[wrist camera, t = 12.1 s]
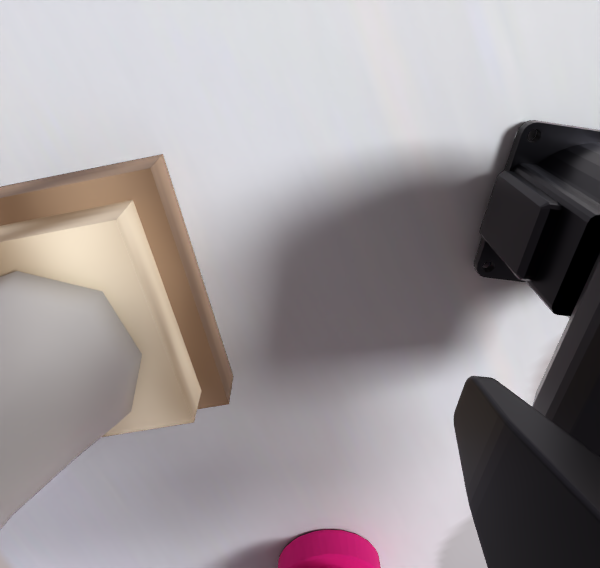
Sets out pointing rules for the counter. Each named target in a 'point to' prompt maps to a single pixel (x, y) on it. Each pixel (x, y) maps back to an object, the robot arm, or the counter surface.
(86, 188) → the tower base
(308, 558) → the pepper mill
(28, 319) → the flask
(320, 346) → the counter surface
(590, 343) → the robot arm
